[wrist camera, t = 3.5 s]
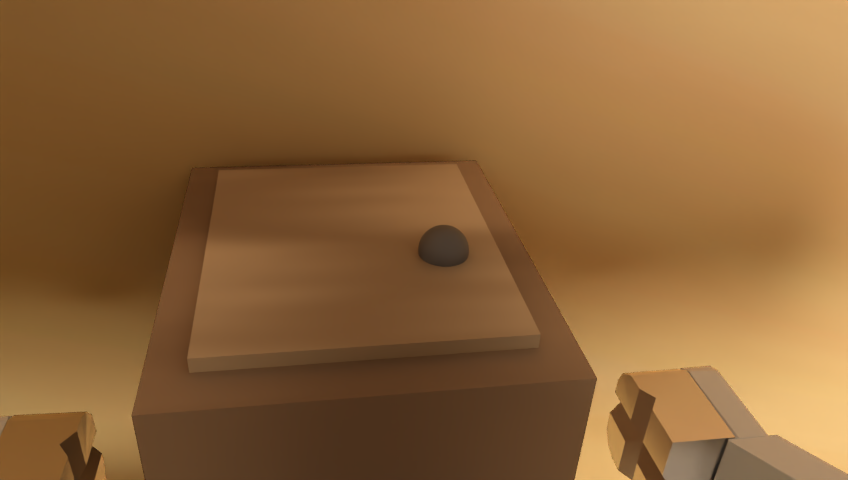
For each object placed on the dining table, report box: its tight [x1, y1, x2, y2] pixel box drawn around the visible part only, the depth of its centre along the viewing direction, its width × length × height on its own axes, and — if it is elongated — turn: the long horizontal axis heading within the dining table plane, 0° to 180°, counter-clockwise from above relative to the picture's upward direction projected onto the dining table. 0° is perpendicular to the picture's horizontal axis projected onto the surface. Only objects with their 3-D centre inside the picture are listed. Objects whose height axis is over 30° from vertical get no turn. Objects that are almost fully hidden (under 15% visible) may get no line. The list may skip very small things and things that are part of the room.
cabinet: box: [132, 161, 597, 480], centre depth 11 cm, size 5×6×6 cm
